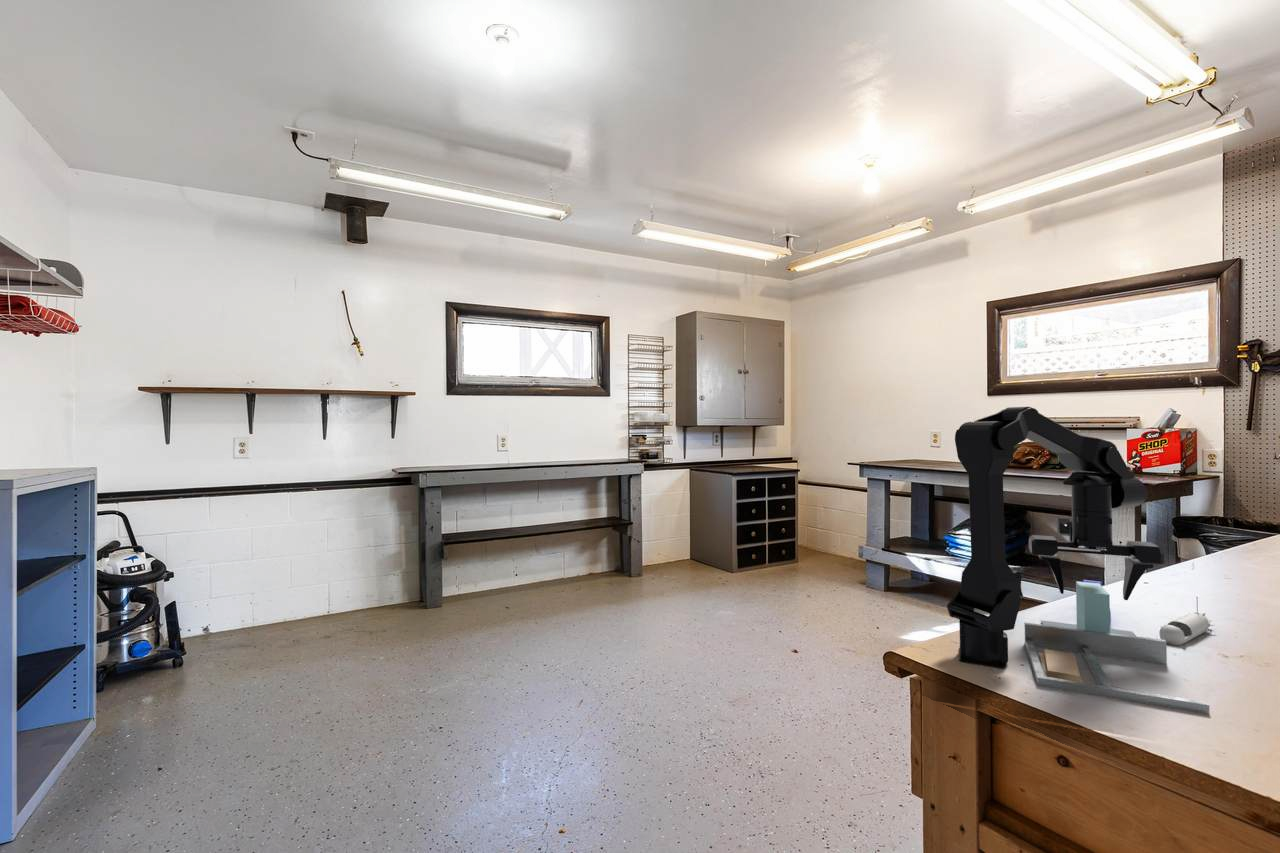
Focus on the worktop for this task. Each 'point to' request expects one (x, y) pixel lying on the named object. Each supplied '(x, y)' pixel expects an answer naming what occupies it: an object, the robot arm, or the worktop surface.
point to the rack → (1100, 646)
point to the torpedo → (1185, 628)
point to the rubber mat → (1076, 627)
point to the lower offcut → (1045, 663)
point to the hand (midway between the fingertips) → (1092, 596)
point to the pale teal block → (1092, 607)
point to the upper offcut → (1061, 665)
